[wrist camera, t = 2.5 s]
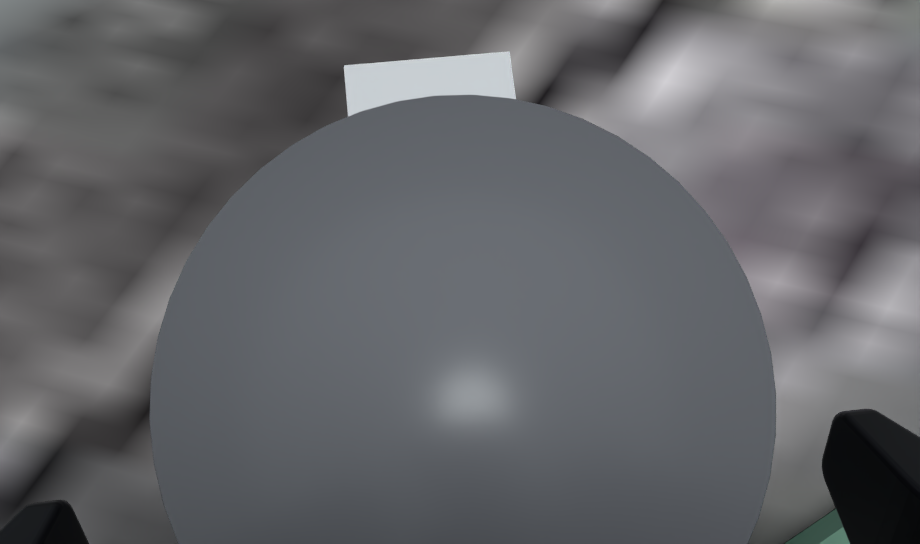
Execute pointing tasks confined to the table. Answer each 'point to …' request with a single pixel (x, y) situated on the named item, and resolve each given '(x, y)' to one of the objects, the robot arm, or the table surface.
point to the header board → (823, 532)
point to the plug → (461, 337)
